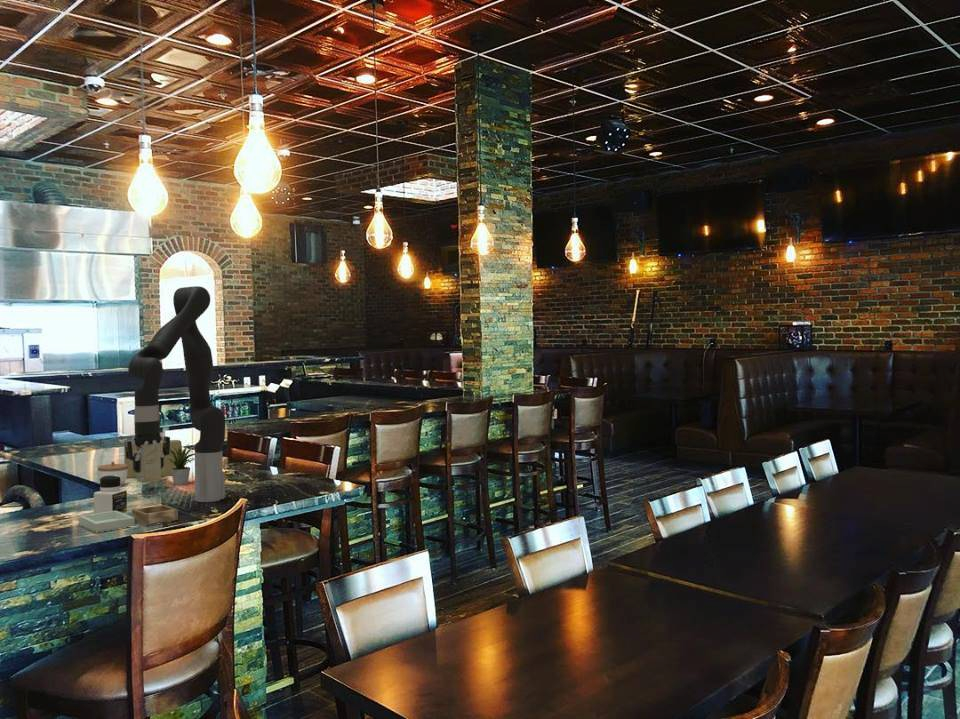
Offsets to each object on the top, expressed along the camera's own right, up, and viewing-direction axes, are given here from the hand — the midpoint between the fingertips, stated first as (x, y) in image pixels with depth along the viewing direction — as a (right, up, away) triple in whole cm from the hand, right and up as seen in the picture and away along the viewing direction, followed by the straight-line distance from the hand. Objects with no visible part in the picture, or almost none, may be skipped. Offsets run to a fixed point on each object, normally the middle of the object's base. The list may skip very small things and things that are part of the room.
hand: (148, 470), depth 248 cm
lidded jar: (-35, -13, +49) cm, 62 cm away
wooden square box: (+5, -15, -8) cm, 18 cm away
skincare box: (0, -4, 0) cm, 4 cm away
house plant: (-10, -13, +52) cm, 55 cm away
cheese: (-28, -13, +71) cm, 77 cm away
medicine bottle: (-14, -14, +3) cm, 20 cm away
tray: (-6, -15, -15) cm, 22 cm away
